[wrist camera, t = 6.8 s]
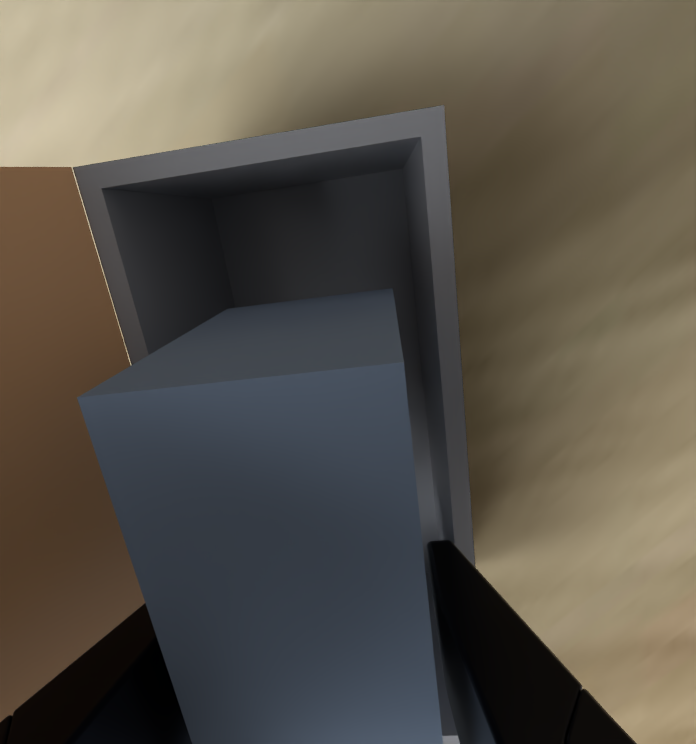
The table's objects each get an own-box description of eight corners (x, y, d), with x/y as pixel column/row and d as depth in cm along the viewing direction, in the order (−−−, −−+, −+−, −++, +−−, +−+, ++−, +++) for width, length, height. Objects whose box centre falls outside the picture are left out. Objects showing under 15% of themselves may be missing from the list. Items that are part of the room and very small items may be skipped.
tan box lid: (-28, 1127, 8) (-42, 1094, 8) (246, 755, 13) (231, 743, 13) (-875, 163, 3) (-826, 178, 4) (71, 166, 8) (54, 173, 8)
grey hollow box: (450, 569, 18) (487, 745, 12) (288, 581, 19) (247, 753, 13) (414, 153, 13) (443, 105, 8) (201, 187, 14) (72, 167, 8)
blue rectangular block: (429, 639, 12) (461, 915, 7) (299, 644, 12) (248, 911, 8) (393, 288, 9) (404, 362, 5) (227, 308, 10) (76, 397, 5)
